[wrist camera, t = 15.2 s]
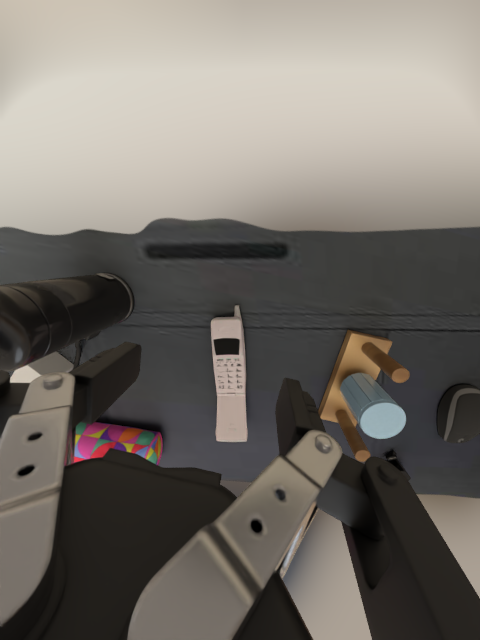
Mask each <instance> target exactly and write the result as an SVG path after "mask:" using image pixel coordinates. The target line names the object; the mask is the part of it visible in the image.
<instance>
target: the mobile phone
mask: <svg viewBox="0 0 480 640" xmlns="http://www.w3.org/2000/svg"><path fill="white" fill-rule="evenodd" d="M211 340H212V353H213V365H214V373H215V381H216V389H217V396H218V399H217V428H216V436H217V441H223V442H243V441H247V424H246V399H245V396H246V361H245V344H244V331H243V324H242V319H241V315H240V309H239V305H235V314H234V317H216V318H213V320H212V321H211Z"/></svg>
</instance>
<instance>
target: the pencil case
mask: <svg viewBox="0 0 480 640" xmlns="http://www.w3.org/2000/svg"><path fill="white" fill-rule="evenodd" d="M162 447H163V442H162V436H161V433H160V432H154V431H153V432H152V431H148V430H144V429H140V428H133V427H128V426H120V425H114V424H106V423H100V422H94V423H93V424H92V425H90V424H86V423H82V422H80V423H79V424H78V425H77V426H76V439H75V453H74V463H75V462H78V461H82V460H86V459H91V458H99V457H103V456H104V455H105V454H106V452H107V451H108V450H109V448H113V449H118V450H122V451H126V452H130V453H135V454H138V455H140V456H141V457H143V458H145V459H147V460H149V461H150V462H152V463H154V464H156V465H158V464H159V461H160V458H161V454H162Z"/></svg>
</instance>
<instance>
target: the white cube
mask: <svg viewBox="0 0 480 640" xmlns="http://www.w3.org/2000/svg"><path fill="white" fill-rule="evenodd" d="M73 366H74V364H72V363H71V362H70V361H68V360H67V359H66V358H64V357H63V356H62V355H60V354H59V353H58V352H54V353H52V354H50V355H48V356H45V357H43V358H41V359H39V360H37V361H35V362H33V363H31V364H29V365H27V366H24V367H22V368H19V369H17V370H15V372H14V373H13V375H12V377H11V378H10V383H31V382H32V381H33V380H34V379H36V378H37V377H39V376H42V375H45V374H48V373H54V372H66V373H68V372H70V371H72V370H73Z"/></svg>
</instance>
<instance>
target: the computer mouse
mask: <svg viewBox="0 0 480 640" xmlns="http://www.w3.org/2000/svg"><path fill="white" fill-rule="evenodd" d="M437 428H438V433H439V435H440V437H442V438H443V439H444V440H445V441H447V442H450V443H463V442H467V441H469V440H471V439H472V438H474V437H475V436H477V435H478V434H480V390H479V389H478V388H476V387H474V386H472V385H457V386H454V387H452V388H450V389H449V390H448V391H447V392H446V393H445V395H444V396H443V398H442V400H441V402H440V405H439V408H438V415H437Z"/></svg>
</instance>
